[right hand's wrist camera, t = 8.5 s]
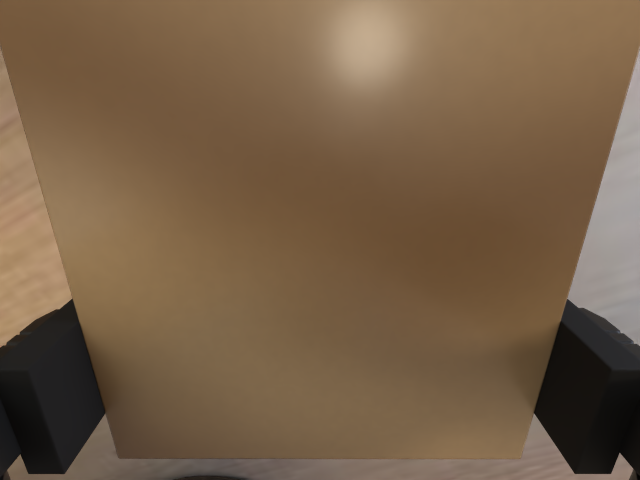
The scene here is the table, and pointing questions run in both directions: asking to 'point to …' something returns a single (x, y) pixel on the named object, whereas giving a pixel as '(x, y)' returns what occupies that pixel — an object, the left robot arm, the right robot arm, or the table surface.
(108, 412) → the cabinet
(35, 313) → the table surface
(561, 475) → the table surface
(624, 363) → the right robot arm
